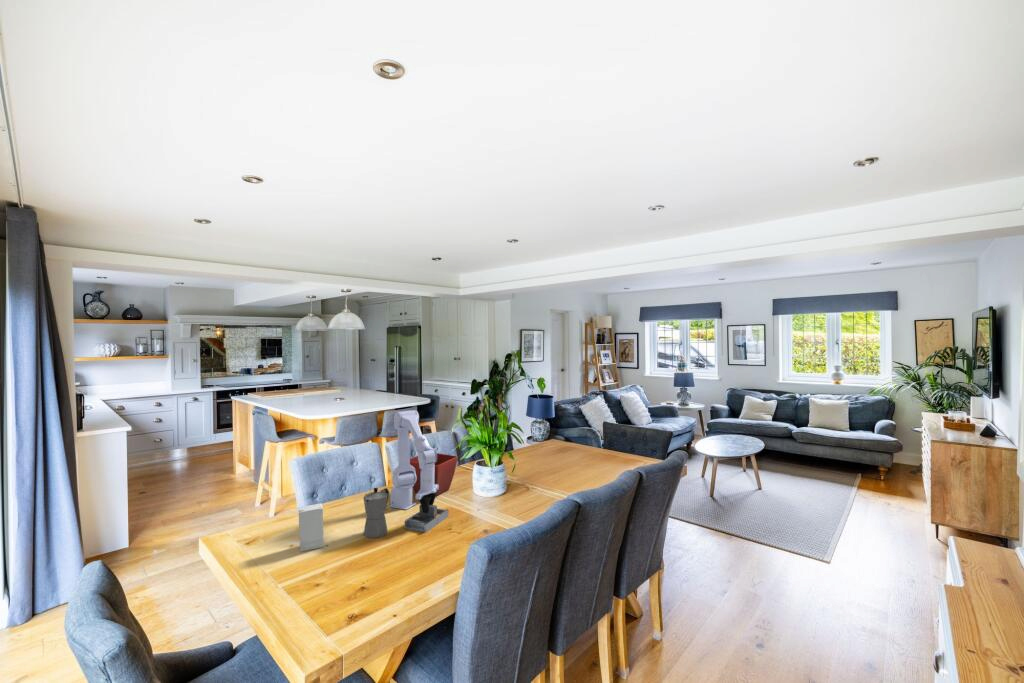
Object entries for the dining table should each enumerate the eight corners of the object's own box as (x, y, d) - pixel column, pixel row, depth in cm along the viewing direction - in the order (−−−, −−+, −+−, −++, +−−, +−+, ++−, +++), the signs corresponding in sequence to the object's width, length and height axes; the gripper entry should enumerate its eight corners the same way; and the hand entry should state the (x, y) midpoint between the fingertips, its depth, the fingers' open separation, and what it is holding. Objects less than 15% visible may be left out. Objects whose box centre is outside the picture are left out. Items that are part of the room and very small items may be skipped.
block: (419, 519, 193) (419, 505, 193) (422, 517, 195) (422, 503, 195) (433, 522, 191) (433, 507, 191) (436, 520, 193) (436, 505, 193)
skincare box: (322, 541, 175) (322, 502, 175) (323, 548, 169) (324, 507, 169) (298, 545, 171) (298, 505, 171) (298, 552, 166) (298, 511, 165)
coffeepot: (376, 541, 175) (376, 494, 174) (355, 538, 177) (355, 491, 177) (398, 526, 189) (398, 482, 189) (378, 523, 192) (378, 480, 192)
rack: (404, 528, 187) (404, 519, 187) (428, 513, 203) (428, 504, 203) (425, 532, 183) (425, 523, 183) (448, 516, 200) (448, 507, 200)
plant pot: (436, 500, 219) (437, 465, 219) (404, 494, 227) (404, 460, 227) (458, 488, 236) (458, 456, 236) (427, 483, 245) (427, 451, 244)
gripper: (426, 485, 185) (426, 518, 185) (444, 475, 198) (444, 506, 198) (411, 483, 188) (411, 516, 188) (430, 473, 201) (430, 504, 201)
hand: (427, 511), depth 193 cm, fingers closed on block, 2 cm apart
